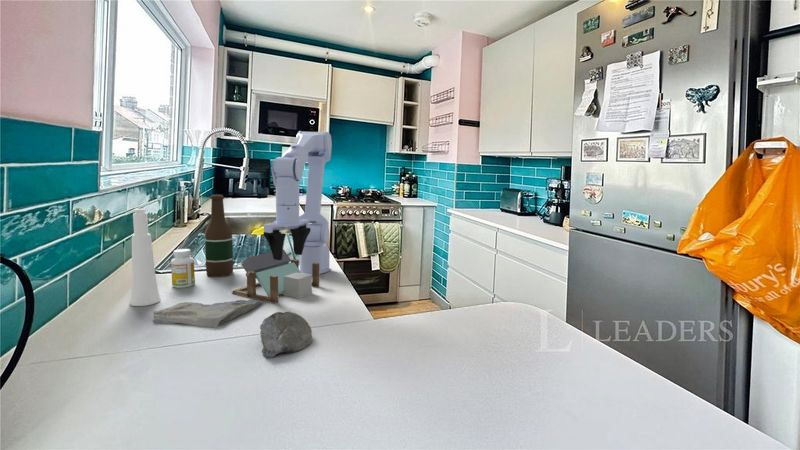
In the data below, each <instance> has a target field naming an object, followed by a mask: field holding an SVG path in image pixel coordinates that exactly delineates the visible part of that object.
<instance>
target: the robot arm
mask: <svg viewBox="0 0 800 450" xmlns="http://www.w3.org/2000/svg"><path fill="white" fill-rule="evenodd" d="M332 147H333V143H332V135H331V134H330V132H329V131H302V130H299V131H298V132H297V134H296V138H295V144H291V145H290V146H289V148H288V149H287V150H286V151H285V153H283V155H282V156H278V157H275V158H274V159H273V160H272V163H271V168H270V169H271V170H270V171H271V176H272V179H273V186H274V187H275V220H274V221H273V222H270V223H265V224H263V236H264V239H265V240H266V242H267V243H268V246H269V248H270V250H271V251H270V252H272V255H273V258H274V260H282V253H283V249H284V248H283V247H284V242H285V239H286V236H287V234H286V233H282V232H281V231H285V230H290V233H291V234H290V235H291V237H292V243H293V244H292V247H293V254H294V255H299V270H300V272H301V273H304V274H310V275H312V263H319V275H321V274H324V273H327V272H330V271H332V270H331V269H332V268H331V267H330V248H329V247H328V245H327V242H328V240H329V235H330V234H329V232H330V231H329V221H328V219H327V218H326V217H325V216H323V215H322V213H321V208H322V196H323V187H324V186H323V184H324V183H323V182H324V171H325V168H326V167H325V166H326V163H327V162H329V161H331V157H332V149H333V148H332ZM306 163H308V172H307V173H308V174H307V183H306V185H307V187H306V196H305V205H304V212H303V213H302V214H300V180H302V178H303V172H304V169H305V168H304V166H305V165H306ZM329 270H330V271H329Z"/></svg>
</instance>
